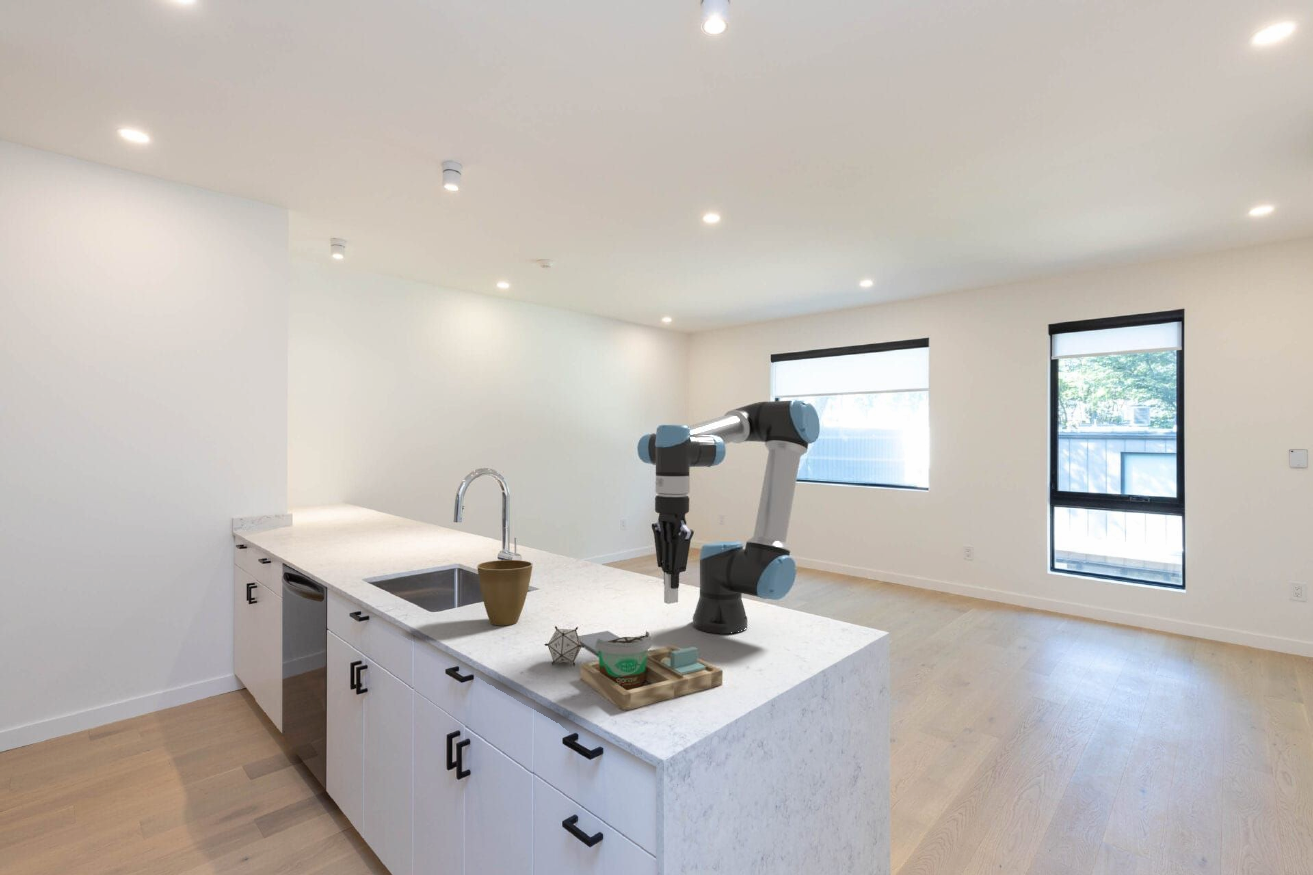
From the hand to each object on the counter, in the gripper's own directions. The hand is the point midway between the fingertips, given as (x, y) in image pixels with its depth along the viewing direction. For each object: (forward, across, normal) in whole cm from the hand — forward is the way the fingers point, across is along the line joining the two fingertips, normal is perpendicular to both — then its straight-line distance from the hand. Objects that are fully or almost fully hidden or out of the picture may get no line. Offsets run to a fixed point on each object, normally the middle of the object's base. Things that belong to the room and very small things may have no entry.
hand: (671, 602), depth 132 cm
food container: (+16, +2, -12) cm, 20 cm away
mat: (+16, -23, -4) cm, 28 cm away
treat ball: (+16, -1, 0) cm, 16 cm away
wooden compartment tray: (+15, +2, -6) cm, 17 cm away
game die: (+16, -17, -18) cm, 29 cm away
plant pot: (+16, -54, -18) cm, 59 cm away
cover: (+12, +6, 0) cm, 14 cm away
